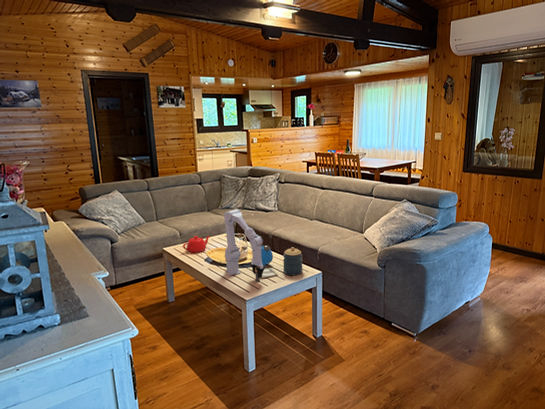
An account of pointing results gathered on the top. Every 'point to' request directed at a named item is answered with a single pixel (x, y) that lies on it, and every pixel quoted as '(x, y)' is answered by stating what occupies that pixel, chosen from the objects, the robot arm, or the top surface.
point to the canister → (292, 261)
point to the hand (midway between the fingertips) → (257, 275)
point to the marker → (257, 275)
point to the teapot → (196, 244)
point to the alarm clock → (266, 255)
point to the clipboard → (268, 273)
